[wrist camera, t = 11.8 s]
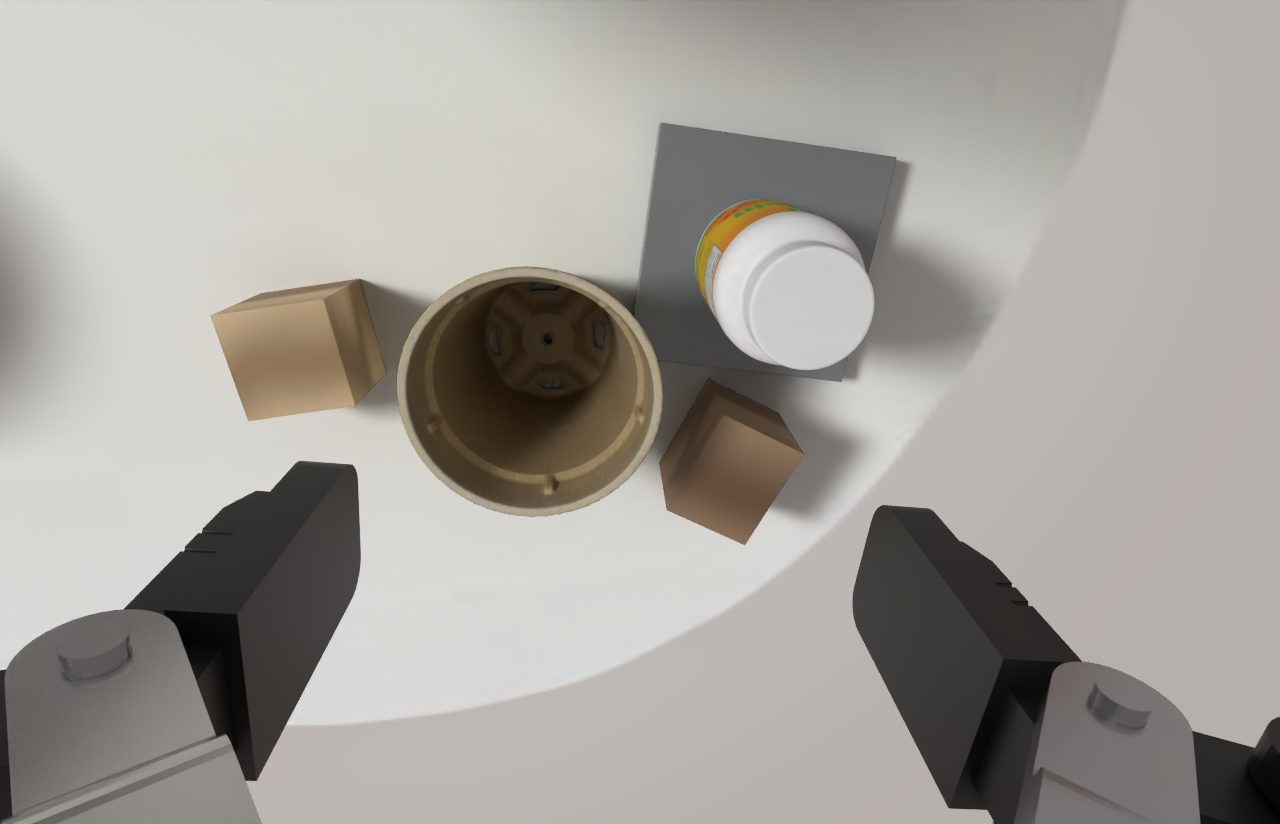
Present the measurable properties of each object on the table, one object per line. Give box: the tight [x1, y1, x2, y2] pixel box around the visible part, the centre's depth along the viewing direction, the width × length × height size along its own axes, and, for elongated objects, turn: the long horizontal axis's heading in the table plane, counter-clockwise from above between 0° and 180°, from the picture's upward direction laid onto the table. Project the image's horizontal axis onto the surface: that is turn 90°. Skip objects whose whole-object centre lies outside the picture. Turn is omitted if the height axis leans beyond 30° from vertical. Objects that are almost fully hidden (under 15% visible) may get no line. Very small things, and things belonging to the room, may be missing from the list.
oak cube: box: [211, 279, 386, 421], centre depth 31 cm, size 4×4×4 cm
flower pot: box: [397, 267, 663, 517], centre depth 30 cm, size 9×9×9 cm
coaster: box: [634, 123, 896, 382], centre depth 32 cm, size 10×10×1 cm
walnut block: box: [659, 378, 804, 545], centre depth 33 cm, size 5×4×5 cm
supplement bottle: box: [695, 199, 875, 370], centre depth 27 cm, size 5×5×10 cm
